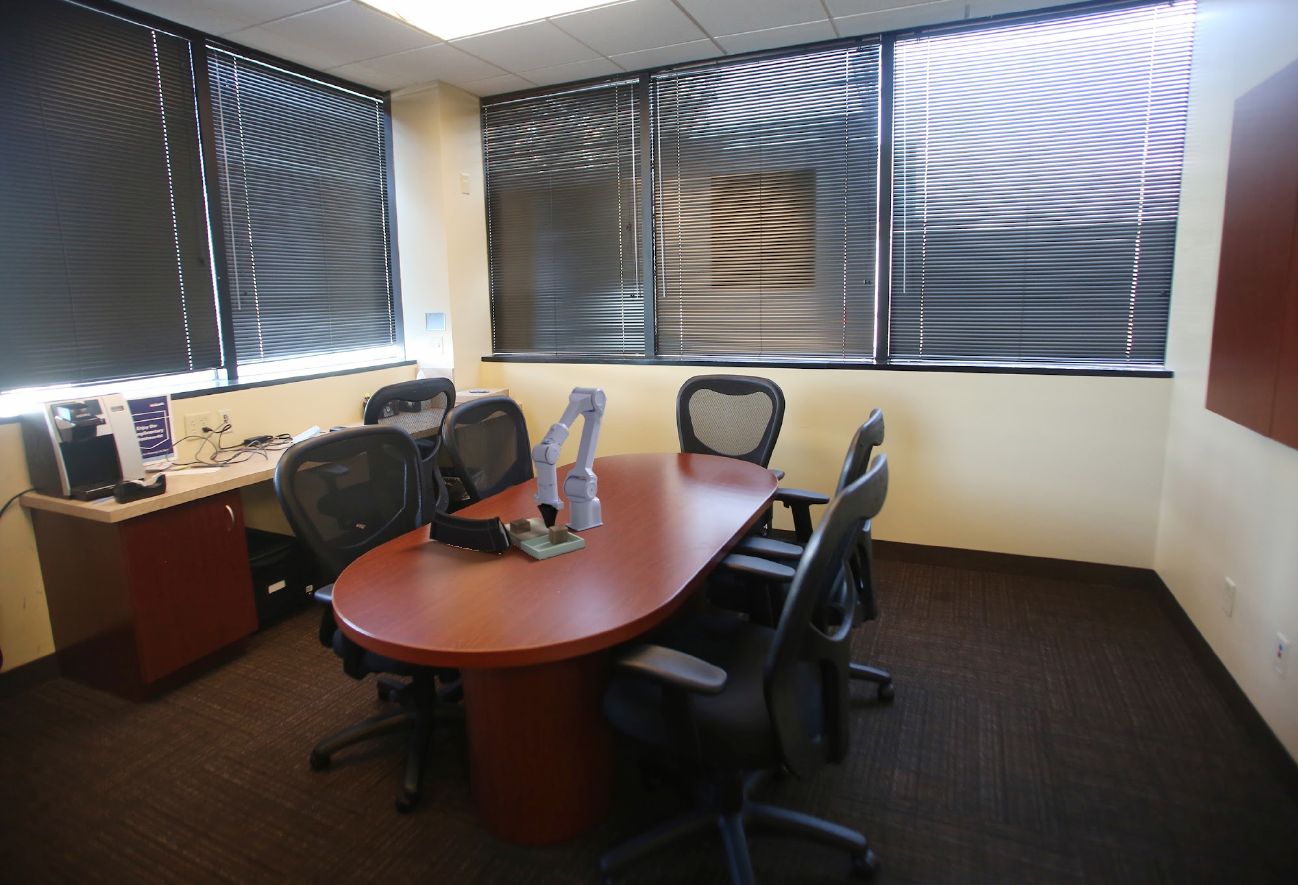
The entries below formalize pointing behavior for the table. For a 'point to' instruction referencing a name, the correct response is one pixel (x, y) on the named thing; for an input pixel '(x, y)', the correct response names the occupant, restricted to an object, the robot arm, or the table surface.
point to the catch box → (551, 546)
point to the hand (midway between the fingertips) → (550, 527)
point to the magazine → (470, 532)
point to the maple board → (536, 531)
